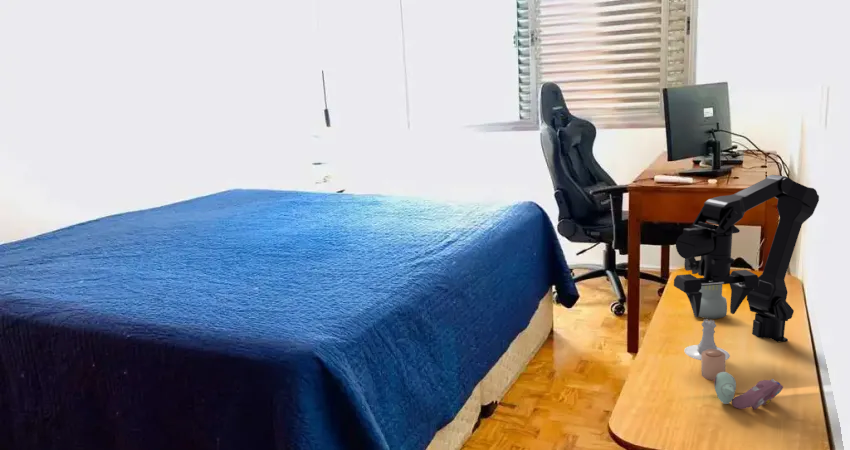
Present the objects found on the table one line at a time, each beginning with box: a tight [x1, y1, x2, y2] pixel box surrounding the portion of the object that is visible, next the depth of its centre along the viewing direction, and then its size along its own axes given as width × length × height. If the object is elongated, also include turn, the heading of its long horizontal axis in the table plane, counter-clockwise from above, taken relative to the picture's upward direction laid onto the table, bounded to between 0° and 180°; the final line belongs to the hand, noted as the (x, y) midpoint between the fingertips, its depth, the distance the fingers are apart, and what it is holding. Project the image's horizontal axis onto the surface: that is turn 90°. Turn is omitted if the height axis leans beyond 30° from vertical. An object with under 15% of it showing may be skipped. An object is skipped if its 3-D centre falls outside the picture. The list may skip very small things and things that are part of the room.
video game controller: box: [731, 378, 784, 410], centre depth 136 cm, size 10×5×7 cm, turn 122°
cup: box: [701, 349, 726, 381], centre depth 148 cm, size 5×5×7 cm
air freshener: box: [698, 281, 728, 320], centre depth 186 cm, size 11×8×10 cm
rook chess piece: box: [697, 318, 717, 354], centre depth 159 cm, size 4×4×8 cm
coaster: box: [684, 344, 731, 361], centre depth 160 cm, size 10×10×1 cm
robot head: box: [713, 371, 737, 405], centre depth 137 cm, size 8×4×7 cm, turn 158°
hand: (714, 315), depth 161 cm, fingers open, 9 cm apart
